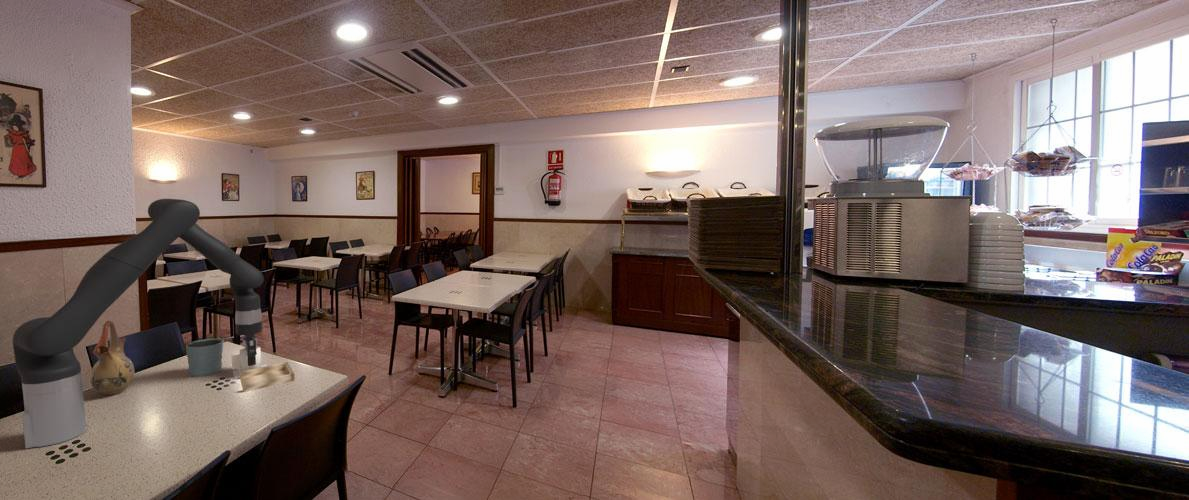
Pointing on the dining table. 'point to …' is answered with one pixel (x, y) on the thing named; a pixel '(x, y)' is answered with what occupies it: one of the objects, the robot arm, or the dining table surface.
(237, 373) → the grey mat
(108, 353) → the ceramic vessel
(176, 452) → the dining table surface
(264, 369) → the beech holder
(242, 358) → the cream jug
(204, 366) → the teal plant pot
